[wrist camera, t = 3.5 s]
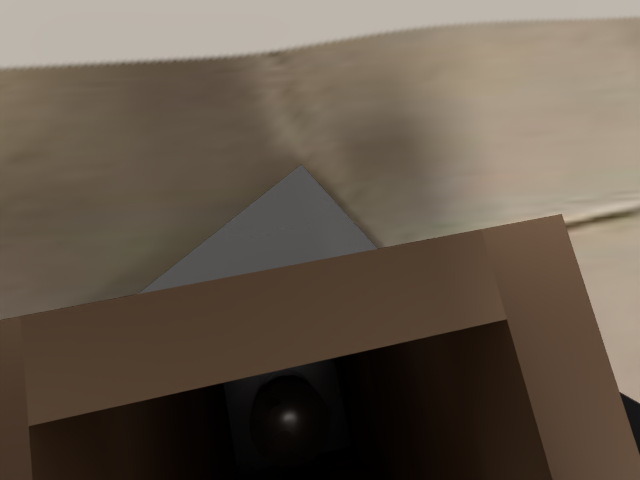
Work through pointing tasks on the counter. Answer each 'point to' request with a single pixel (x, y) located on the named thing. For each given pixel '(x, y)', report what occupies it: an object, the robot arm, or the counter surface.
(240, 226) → the plate
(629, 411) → the robot arm
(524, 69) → the counter surface
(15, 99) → the counter surface
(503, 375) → the walnut collar
